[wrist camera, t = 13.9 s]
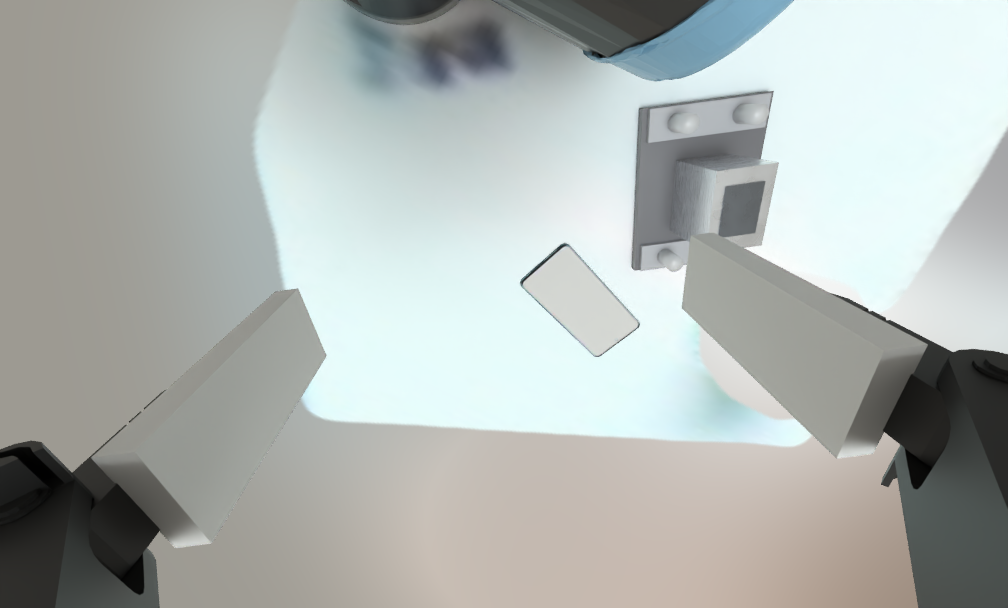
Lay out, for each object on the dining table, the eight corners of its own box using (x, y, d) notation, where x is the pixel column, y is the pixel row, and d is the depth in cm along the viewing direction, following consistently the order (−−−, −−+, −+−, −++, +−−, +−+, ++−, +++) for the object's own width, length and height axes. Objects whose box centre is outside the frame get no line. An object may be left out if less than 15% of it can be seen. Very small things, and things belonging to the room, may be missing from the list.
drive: (675, 160, 36) (718, 171, 30) (727, 153, 36) (780, 162, 30) (669, 230, 39) (706, 253, 33) (716, 223, 39) (762, 245, 33)
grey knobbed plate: (639, 108, 34) (656, 108, 31) (767, 91, 34) (798, 89, 31) (632, 267, 42) (645, 281, 39) (737, 253, 42) (759, 266, 39)
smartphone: (565, 241, 40) (641, 325, 46) (564, 239, 40) (640, 323, 46) (517, 283, 42) (596, 358, 47) (517, 281, 42) (595, 356, 48)
